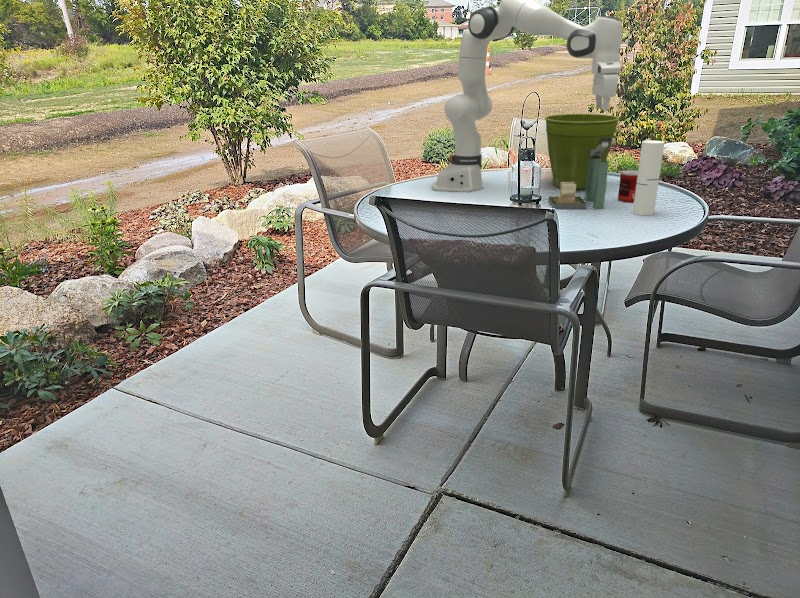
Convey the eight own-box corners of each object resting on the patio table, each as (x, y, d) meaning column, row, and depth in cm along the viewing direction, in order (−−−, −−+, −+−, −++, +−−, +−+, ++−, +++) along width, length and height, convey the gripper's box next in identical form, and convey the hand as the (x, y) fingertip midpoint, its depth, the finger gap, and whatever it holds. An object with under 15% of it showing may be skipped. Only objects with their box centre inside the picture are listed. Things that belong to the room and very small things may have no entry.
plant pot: (542, 178, 274) (546, 113, 263) (609, 180, 266) (617, 113, 255) (538, 191, 247) (543, 120, 236) (612, 194, 240) (621, 121, 229)
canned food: (639, 198, 231) (643, 170, 227) (637, 203, 225) (641, 174, 221) (618, 197, 235) (622, 169, 230) (616, 201, 228) (620, 173, 224)
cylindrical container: (655, 215, 207) (666, 143, 198) (634, 215, 209) (643, 143, 199) (651, 210, 214) (662, 140, 204) (631, 210, 215) (640, 140, 206)
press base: (552, 209, 219) (556, 163, 213) (546, 198, 235) (549, 155, 228) (605, 209, 218) (610, 162, 211) (594, 198, 233) (599, 155, 227)
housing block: (574, 200, 221) (576, 184, 219) (561, 200, 221) (562, 184, 219) (572, 197, 226) (573, 182, 223) (559, 197, 226) (560, 182, 224)
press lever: (589, 158, 226) (589, 149, 226) (599, 158, 226) (600, 149, 226) (600, 147, 210) (600, 138, 210) (611, 147, 210) (611, 137, 210)
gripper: (589, 67, 212) (586, 107, 218) (602, 68, 194) (599, 112, 199) (607, 66, 212) (604, 107, 217) (622, 67, 193) (618, 111, 198)
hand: (601, 109), depth 208 cm, fingers open, 8 cm apart
